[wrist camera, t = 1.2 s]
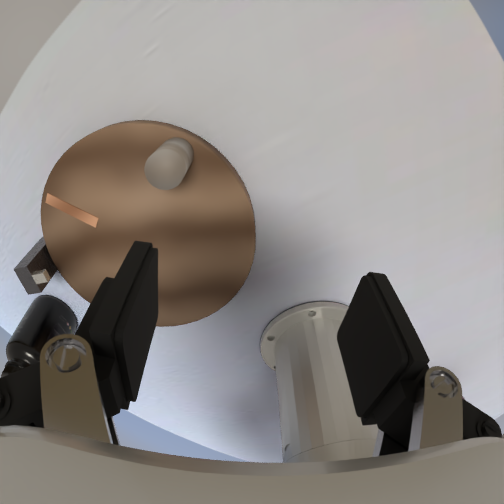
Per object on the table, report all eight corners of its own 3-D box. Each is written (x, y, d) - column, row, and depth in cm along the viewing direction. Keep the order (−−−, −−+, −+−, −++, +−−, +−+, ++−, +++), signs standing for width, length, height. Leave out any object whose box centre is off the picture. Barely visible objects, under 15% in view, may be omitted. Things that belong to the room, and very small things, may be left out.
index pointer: (77, 255, 30) (52, 290, 25) (53, 260, 31) (28, 294, 25) (66, 230, 29) (38, 263, 24) (42, 237, 29) (13, 269, 24)
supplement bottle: (46, 331, 37) (12, 399, 27) (26, 292, 33) (-18, 361, 23) (86, 334, 37) (55, 410, 27) (67, 293, 33) (24, 371, 23)
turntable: (270, 299, 32) (275, 343, 27) (99, 320, 34) (82, 359, 29) (229, 92, 22) (223, 99, 17) (24, 160, 24) (-14, 184, 19)
